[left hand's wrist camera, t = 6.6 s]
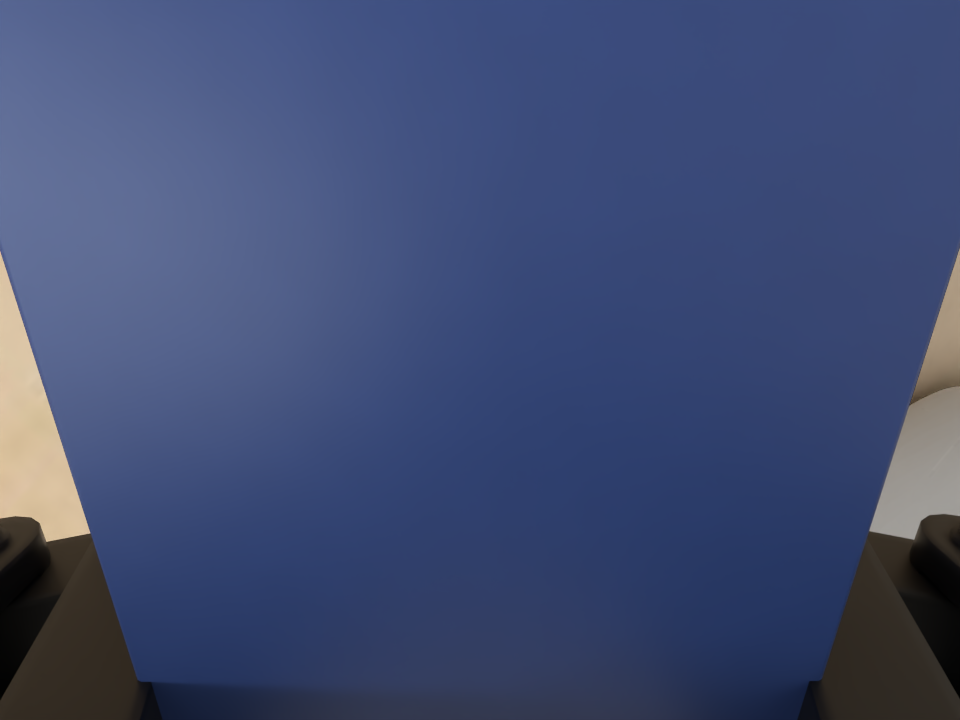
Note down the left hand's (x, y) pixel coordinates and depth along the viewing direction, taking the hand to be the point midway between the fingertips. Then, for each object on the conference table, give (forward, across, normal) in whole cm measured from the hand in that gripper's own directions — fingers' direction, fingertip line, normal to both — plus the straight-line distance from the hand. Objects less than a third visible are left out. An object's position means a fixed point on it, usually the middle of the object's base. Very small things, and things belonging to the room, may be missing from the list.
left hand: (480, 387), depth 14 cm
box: (+2, 0, -9) cm, 9 cm away
